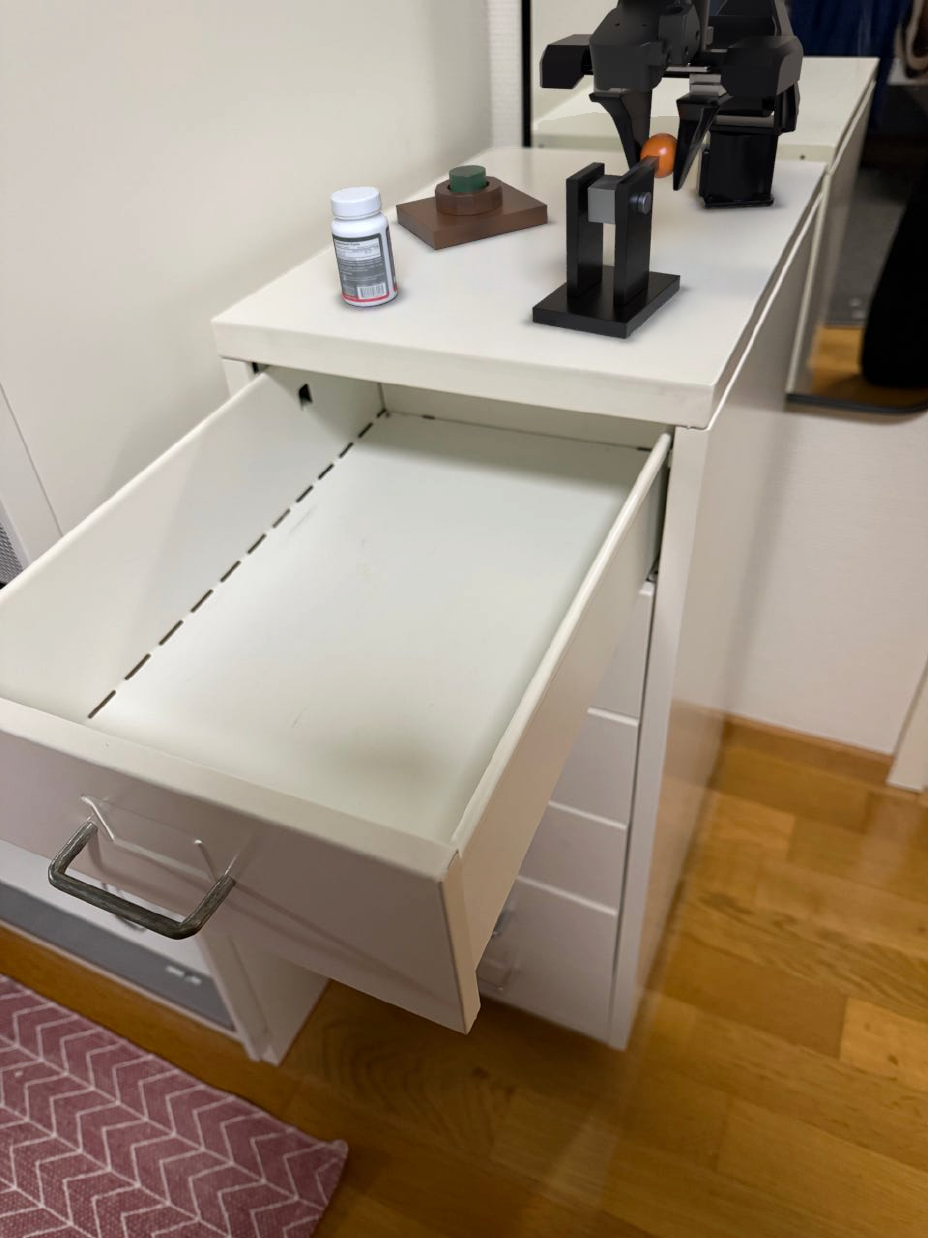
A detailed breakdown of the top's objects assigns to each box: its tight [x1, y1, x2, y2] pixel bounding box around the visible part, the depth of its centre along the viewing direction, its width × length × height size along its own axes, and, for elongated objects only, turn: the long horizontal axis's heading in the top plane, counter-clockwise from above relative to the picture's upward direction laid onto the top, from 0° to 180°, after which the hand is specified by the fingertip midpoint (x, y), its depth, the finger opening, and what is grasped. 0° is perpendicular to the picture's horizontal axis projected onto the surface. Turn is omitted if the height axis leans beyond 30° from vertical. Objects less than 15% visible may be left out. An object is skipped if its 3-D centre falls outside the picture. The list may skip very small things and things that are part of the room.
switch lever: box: [588, 132, 677, 225], centre depth 67 cm, size 12×3×3 cm, turn 147°
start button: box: [448, 164, 487, 192], centre depth 85 cm, size 4×4×2 cm
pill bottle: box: [329, 186, 399, 308], centre depth 73 cm, size 5×5×8 cm
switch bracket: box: [531, 161, 681, 339], centre depth 67 cm, size 10×8×10 cm
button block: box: [395, 175, 548, 250], centre depth 87 cm, size 12×10×4 cm
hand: (657, 187), depth 71 cm, fingers closed on switch lever, 3 cm apart
